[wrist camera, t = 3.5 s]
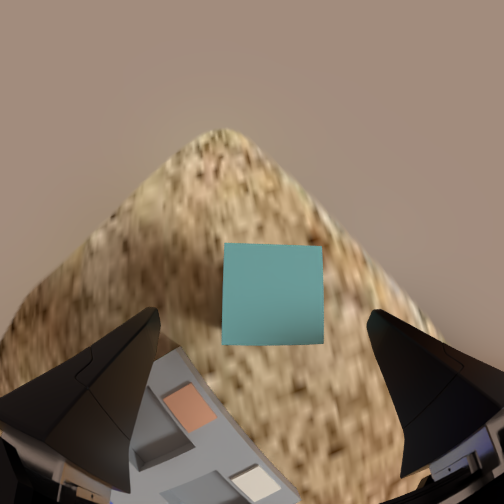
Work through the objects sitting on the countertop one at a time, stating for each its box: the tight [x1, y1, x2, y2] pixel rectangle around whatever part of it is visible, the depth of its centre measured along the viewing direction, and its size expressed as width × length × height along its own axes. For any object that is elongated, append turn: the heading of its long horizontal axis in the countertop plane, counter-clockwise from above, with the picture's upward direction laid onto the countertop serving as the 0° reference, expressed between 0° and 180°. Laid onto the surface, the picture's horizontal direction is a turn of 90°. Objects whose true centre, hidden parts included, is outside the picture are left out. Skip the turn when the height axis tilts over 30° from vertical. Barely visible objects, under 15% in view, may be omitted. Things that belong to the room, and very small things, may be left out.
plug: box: [222, 243, 324, 345], centre depth 15 cm, size 4×4×11 cm
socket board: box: [110, 346, 301, 504], centre depth 16 cm, size 16×14×2 cm
